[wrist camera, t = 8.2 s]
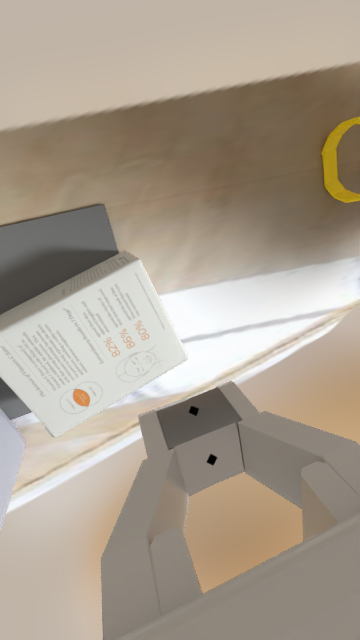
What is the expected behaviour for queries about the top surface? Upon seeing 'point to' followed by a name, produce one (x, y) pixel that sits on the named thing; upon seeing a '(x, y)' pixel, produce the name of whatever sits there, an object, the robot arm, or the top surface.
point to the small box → (87, 343)
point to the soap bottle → (8, 460)
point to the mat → (48, 264)
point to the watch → (331, 163)
